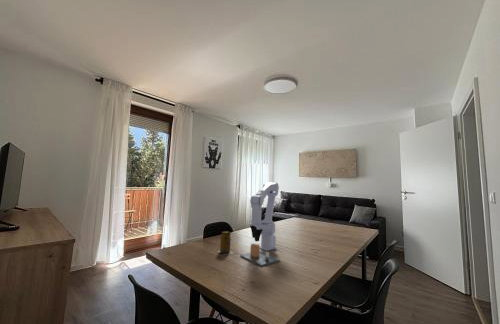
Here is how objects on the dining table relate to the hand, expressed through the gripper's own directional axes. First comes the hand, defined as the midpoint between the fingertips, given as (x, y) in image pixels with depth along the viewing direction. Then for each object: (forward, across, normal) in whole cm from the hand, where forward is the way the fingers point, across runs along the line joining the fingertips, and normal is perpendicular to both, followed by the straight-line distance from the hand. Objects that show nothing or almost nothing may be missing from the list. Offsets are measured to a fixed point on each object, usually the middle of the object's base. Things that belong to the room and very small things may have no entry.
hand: (255, 239), depth 125 cm
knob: (+9, 0, 0) cm, 9 cm away
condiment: (+10, -9, -17) cm, 21 cm away
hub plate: (+10, +4, +2) cm, 11 cm away
